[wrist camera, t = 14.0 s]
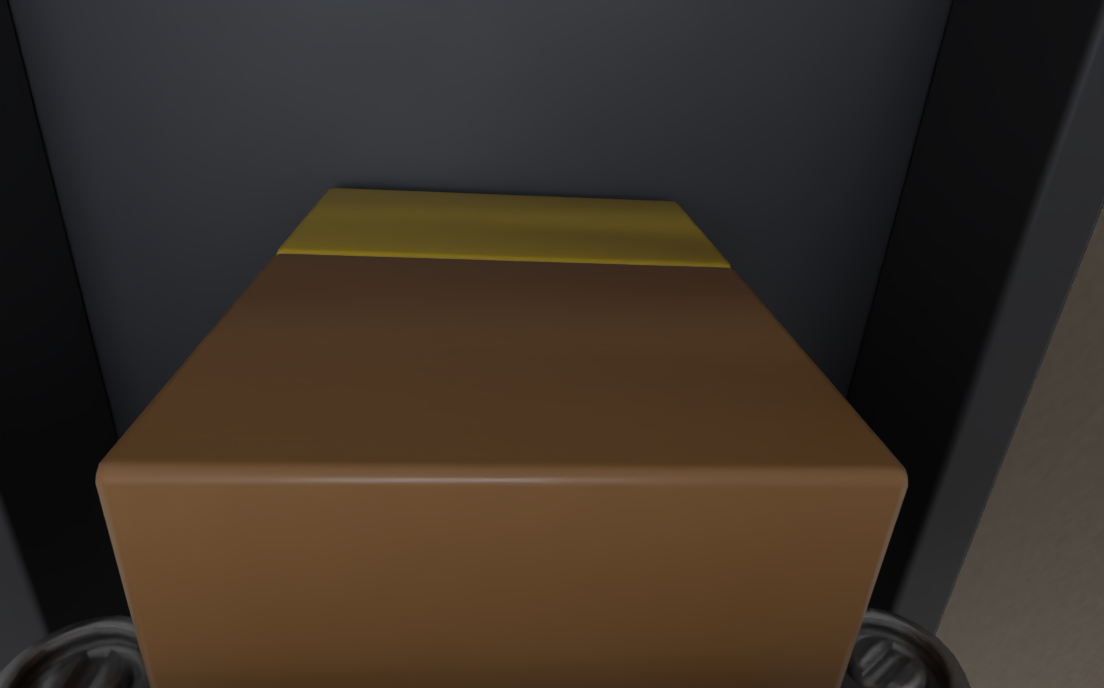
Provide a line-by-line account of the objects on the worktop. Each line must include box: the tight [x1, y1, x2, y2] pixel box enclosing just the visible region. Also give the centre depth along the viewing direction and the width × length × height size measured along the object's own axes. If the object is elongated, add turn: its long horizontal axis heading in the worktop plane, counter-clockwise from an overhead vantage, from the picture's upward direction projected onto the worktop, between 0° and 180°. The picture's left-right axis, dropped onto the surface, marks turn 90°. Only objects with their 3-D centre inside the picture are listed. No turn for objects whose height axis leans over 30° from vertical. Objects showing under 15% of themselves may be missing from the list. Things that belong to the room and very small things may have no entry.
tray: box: [0, 0, 1104, 673], centre depth 9 cm, size 20×13×3 cm, turn 177°
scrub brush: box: [95, 188, 908, 688], centre depth 8 cm, size 8×4×6 cm, turn 177°
